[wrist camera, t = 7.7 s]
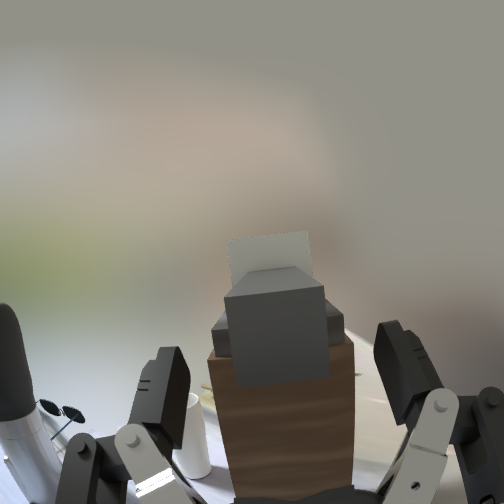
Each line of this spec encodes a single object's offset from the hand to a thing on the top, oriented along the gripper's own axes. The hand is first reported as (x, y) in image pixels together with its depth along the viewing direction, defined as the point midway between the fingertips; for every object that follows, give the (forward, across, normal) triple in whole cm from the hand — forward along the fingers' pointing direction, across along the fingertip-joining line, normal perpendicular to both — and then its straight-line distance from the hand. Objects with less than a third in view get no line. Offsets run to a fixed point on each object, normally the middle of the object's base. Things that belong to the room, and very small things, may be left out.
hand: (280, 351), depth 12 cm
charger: (+7, 0, +5) cm, 9 cm away
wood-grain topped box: (-3, 0, +35) cm, 35 cm away
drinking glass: (+9, +16, +42) cm, 46 cm away
